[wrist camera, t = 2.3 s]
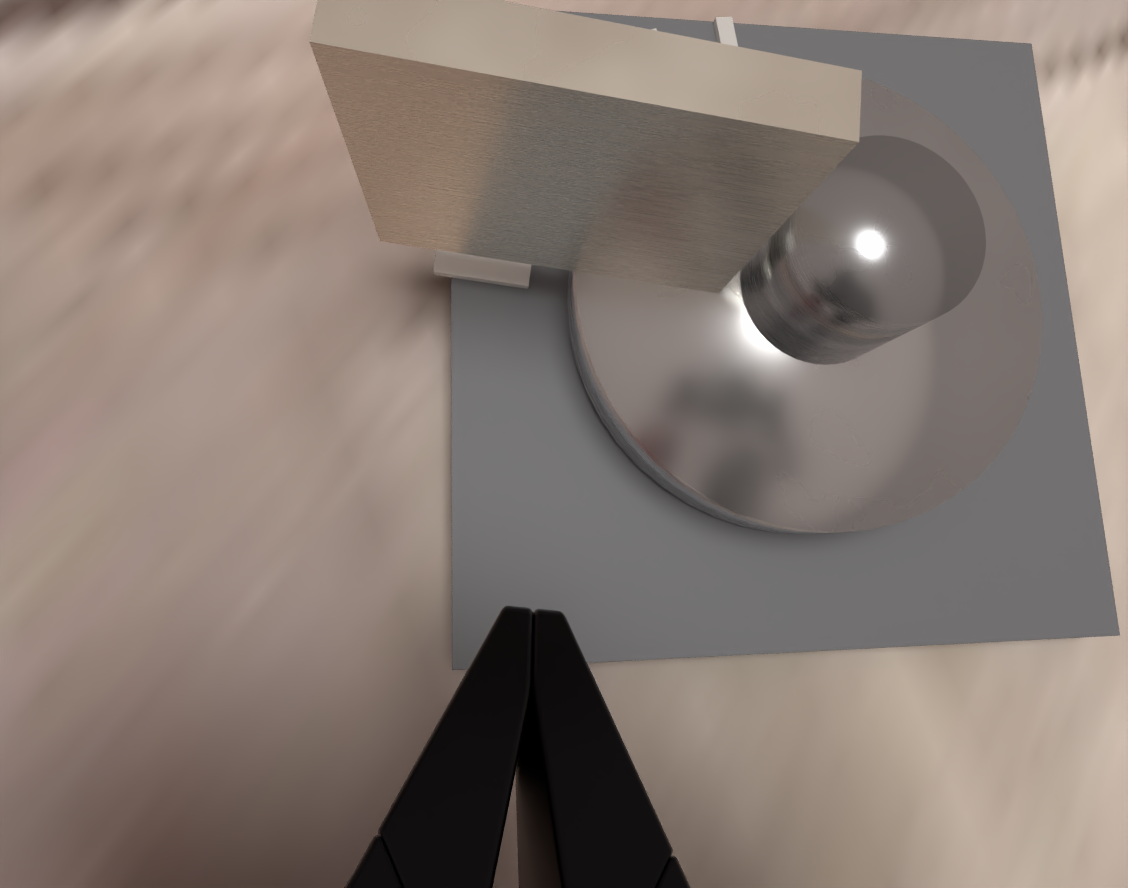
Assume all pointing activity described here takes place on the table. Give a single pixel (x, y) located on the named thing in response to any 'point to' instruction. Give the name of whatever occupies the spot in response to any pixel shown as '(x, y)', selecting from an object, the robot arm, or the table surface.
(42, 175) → the table surface
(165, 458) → the table surface
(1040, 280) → the panel
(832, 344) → the dial
